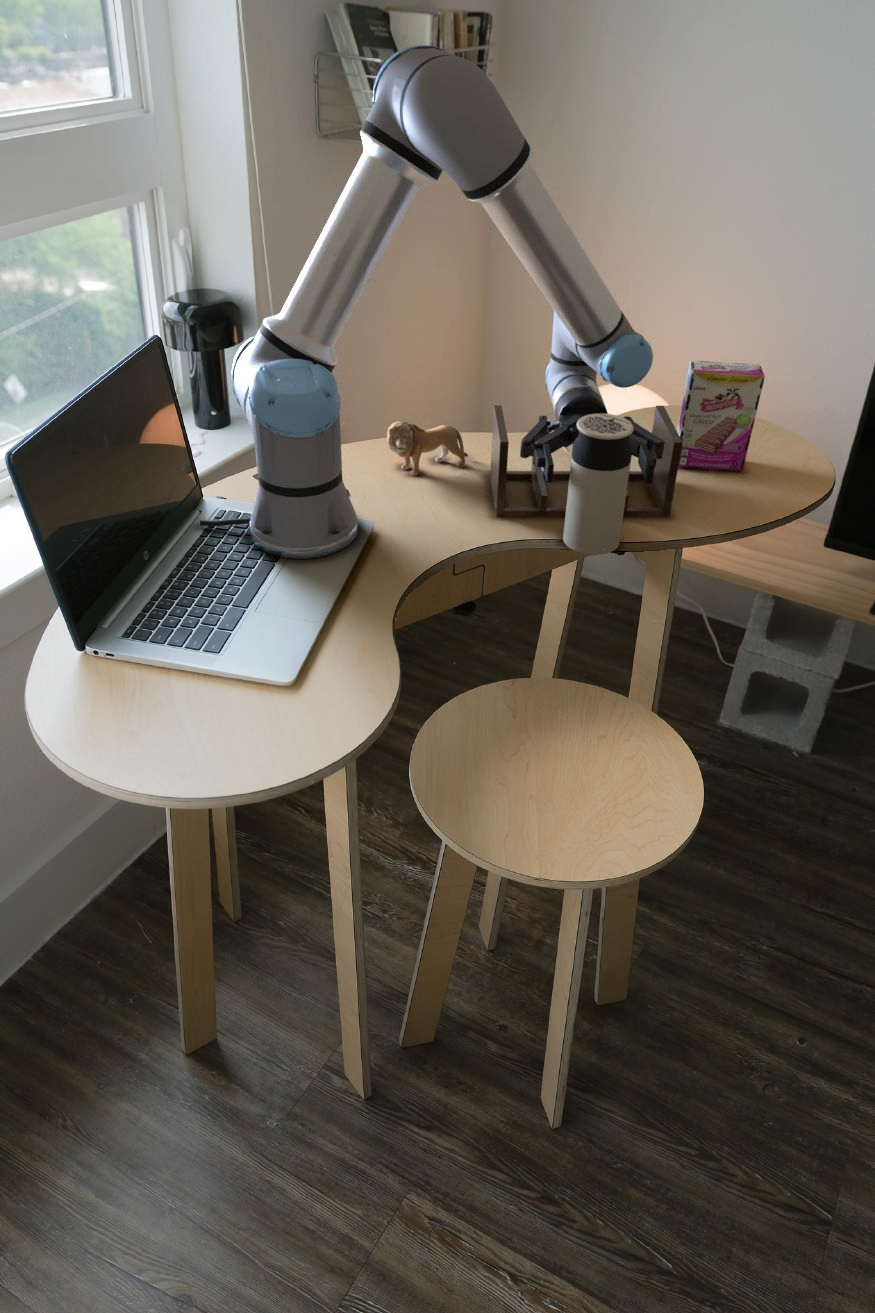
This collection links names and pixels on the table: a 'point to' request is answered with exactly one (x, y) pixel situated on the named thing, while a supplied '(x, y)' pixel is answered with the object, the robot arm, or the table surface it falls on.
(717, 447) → the candy bar box
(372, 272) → the robot arm
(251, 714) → the table surface
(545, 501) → the rack
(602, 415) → the travel mug
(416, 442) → the lion figurine
